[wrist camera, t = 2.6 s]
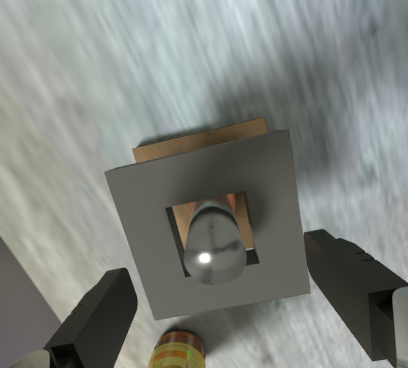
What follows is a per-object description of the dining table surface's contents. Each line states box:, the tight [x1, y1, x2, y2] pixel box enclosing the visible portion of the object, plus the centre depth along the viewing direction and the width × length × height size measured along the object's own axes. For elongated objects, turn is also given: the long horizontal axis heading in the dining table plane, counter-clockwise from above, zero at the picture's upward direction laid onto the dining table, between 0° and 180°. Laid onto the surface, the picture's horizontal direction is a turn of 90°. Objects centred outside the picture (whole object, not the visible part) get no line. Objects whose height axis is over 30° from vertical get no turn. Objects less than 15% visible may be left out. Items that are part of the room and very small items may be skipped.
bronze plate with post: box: [132, 117, 267, 285], centre depth 15 cm, size 12×12×11 cm
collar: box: [104, 129, 311, 320], centre depth 13 cm, size 10×10×2 cm
